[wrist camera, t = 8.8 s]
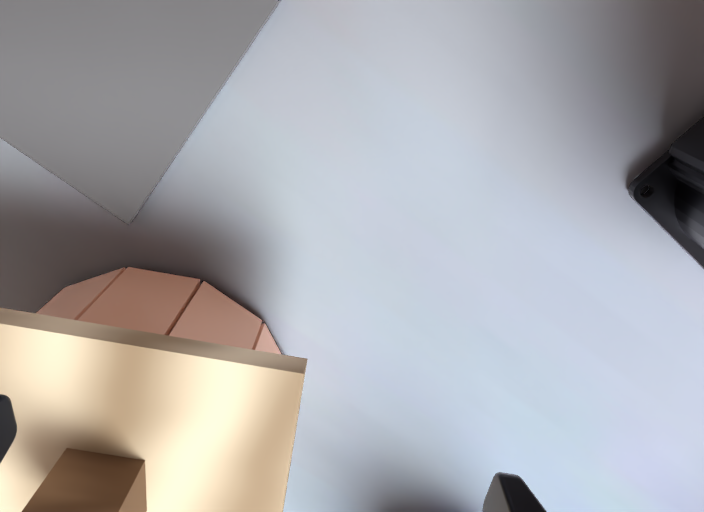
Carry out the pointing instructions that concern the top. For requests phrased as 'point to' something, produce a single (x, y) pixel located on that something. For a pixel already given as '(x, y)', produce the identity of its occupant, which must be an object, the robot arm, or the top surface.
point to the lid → (143, 420)
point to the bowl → (162, 308)
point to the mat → (116, 85)
